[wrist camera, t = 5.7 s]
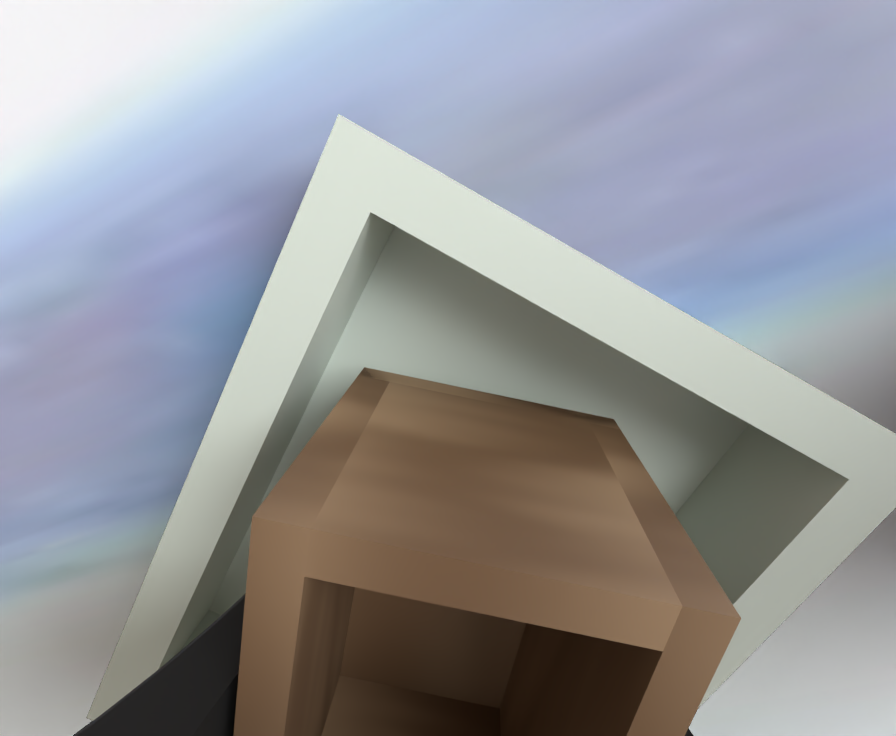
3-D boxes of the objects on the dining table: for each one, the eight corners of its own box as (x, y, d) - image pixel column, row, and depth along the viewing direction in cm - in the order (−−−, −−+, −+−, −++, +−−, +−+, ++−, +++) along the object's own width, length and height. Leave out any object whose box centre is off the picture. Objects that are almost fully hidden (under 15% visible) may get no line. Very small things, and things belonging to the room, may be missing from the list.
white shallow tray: (808, 389, 11) (942, 460, 8) (501, 755, 15) (506, 903, 12) (384, 146, 10) (338, 114, 7) (177, 603, 15) (86, 717, 11)
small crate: (614, 418, 10) (742, 618, 5) (517, 711, 12) (540, 1033, 7) (364, 366, 10) (252, 516, 5) (318, 670, 12) (213, 964, 7)
